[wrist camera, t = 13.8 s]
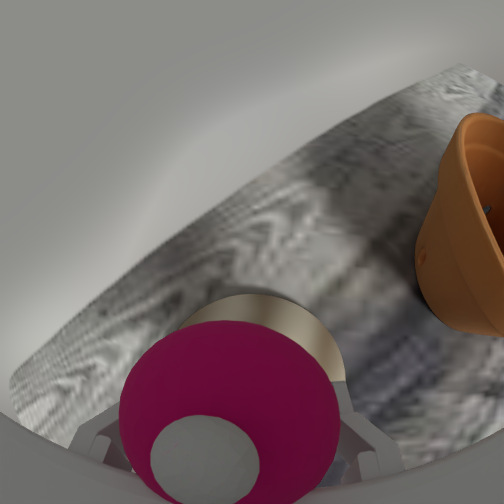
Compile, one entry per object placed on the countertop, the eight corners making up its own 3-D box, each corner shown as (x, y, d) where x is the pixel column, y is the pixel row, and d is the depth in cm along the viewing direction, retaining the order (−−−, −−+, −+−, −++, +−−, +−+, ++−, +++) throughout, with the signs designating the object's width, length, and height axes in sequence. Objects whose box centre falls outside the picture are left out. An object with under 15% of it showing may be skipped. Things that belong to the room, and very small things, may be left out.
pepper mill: (290, 427, 19) (375, 599, 1) (204, 417, 20) (32, 531, 2) (299, 346, 22) (446, 256, 4) (214, 337, 23) (48, 223, 4)
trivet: (338, 296, 25) (342, 292, 24) (338, 460, 19) (342, 464, 18) (169, 294, 26) (165, 291, 24) (164, 455, 19) (159, 459, 18)
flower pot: (494, 383, 19) (588, 368, 6) (358, 322, 24) (452, 267, 10) (512, 239, 26) (573, 187, 13) (405, 169, 31) (451, 81, 17)
